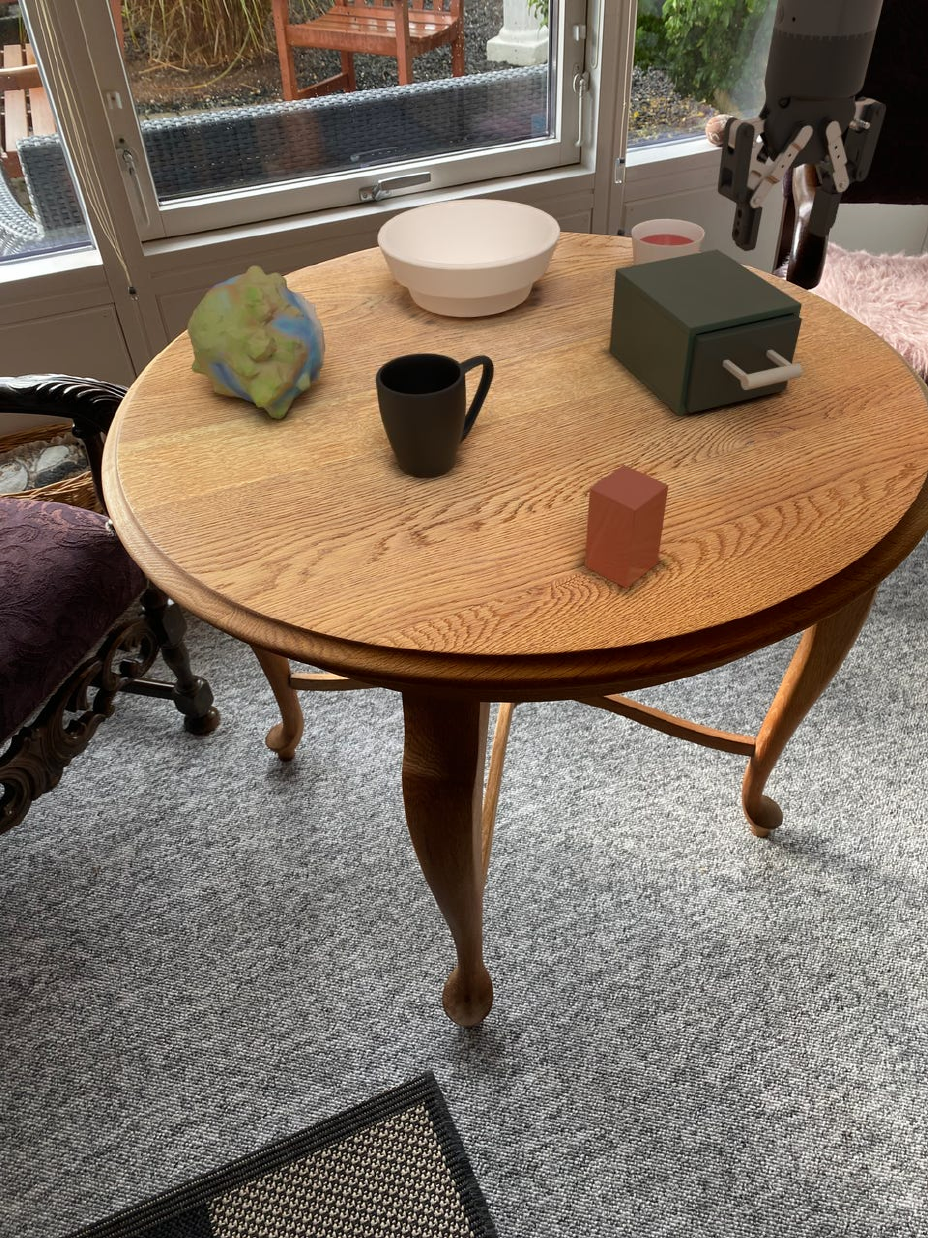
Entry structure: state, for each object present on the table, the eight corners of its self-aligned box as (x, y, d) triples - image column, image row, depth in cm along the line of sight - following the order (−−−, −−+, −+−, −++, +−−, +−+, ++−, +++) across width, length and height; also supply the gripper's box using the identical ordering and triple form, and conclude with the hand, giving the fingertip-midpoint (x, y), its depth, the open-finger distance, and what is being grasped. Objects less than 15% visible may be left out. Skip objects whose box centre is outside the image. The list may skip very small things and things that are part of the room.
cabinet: (782, 391, 95) (802, 303, 88) (677, 416, 92) (690, 327, 85) (704, 330, 106) (717, 248, 99) (609, 351, 103) (615, 268, 96)
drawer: (814, 411, 90) (833, 339, 85) (715, 436, 87) (729, 363, 82) (711, 332, 103) (722, 265, 98) (623, 351, 101) (629, 283, 95)
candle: (655, 262, 121) (660, 213, 116) (711, 279, 116) (719, 230, 112) (613, 283, 116) (616, 233, 112) (669, 302, 111) (676, 251, 107)
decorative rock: (309, 234, 91) (164, 248, 91) (308, 346, 83) (149, 362, 83) (334, 337, 103) (206, 349, 103) (335, 443, 95) (197, 457, 96)
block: (615, 541, 78) (623, 464, 72) (657, 563, 75) (669, 484, 70) (583, 566, 75) (589, 487, 70) (626, 589, 73) (635, 510, 68)
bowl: (374, 272, 122) (367, 208, 116) (533, 253, 124) (534, 190, 119) (396, 346, 106) (389, 276, 100) (579, 323, 108) (583, 254, 103)
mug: (516, 454, 88) (517, 365, 82) (412, 496, 84) (403, 405, 77) (471, 419, 93) (468, 333, 87) (370, 457, 89) (359, 369, 82)
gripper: (773, 40, 64) (734, 270, 75) (937, 18, 67) (876, 241, 78) (716, 22, 69) (688, 239, 80) (871, 2, 72) (823, 214, 84)
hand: (781, 240), depth 79 cm, fingers open, 7 cm apart
